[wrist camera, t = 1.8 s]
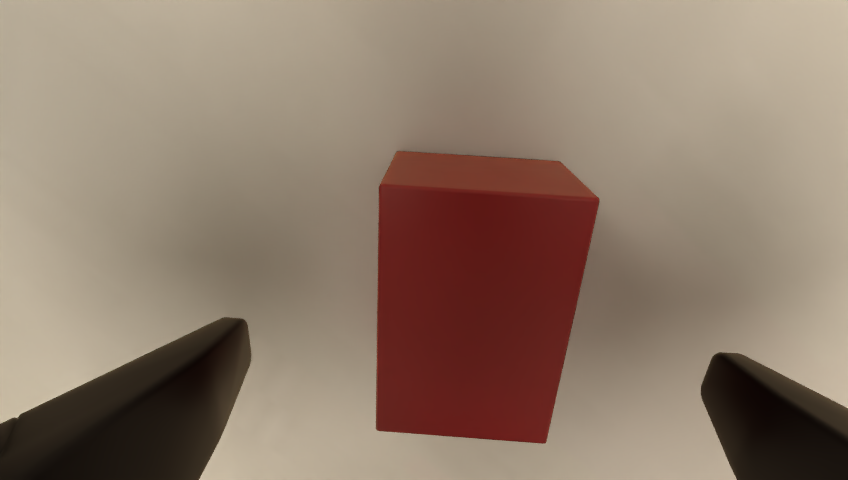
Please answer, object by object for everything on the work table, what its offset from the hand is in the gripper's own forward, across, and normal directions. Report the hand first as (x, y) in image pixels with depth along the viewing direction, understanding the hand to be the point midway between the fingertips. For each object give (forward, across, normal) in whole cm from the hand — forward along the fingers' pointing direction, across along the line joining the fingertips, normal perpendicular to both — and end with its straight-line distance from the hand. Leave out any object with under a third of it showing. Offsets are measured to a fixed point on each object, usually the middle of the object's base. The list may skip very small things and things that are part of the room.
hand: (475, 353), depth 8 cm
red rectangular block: (+4, 0, 0) cm, 4 cm away
